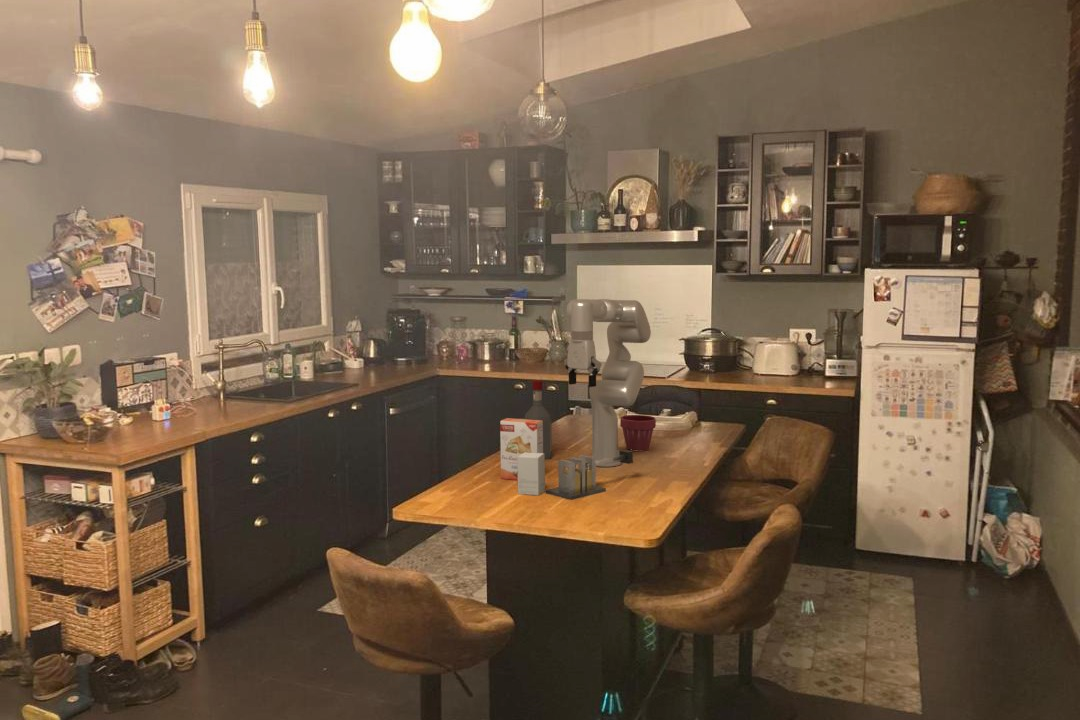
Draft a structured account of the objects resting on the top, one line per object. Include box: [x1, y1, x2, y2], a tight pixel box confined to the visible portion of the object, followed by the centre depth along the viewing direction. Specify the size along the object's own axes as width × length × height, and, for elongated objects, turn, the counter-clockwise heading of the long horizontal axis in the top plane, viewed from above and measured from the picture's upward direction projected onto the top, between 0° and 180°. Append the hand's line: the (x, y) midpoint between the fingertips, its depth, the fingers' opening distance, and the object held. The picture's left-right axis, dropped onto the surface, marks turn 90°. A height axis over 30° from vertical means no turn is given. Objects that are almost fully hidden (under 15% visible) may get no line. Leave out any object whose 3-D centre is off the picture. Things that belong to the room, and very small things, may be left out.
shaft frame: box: [544, 454, 607, 501], centre depth 292 cm, size 16×12×11 cm
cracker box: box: [499, 417, 543, 481], centre depth 310 cm, size 14×6×21 cm, turn 68°
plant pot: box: [619, 414, 657, 451], centre depth 360 cm, size 14×14×13 cm
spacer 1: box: [565, 469, 580, 492], centre depth 291 cm, size 2×6×6 cm, turn 43°
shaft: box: [585, 449, 634, 469], centre depth 302 cm, size 20×4×4 cm, turn 133°
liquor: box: [523, 379, 553, 460], centre depth 343 cm, size 9×9×30 cm
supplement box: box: [517, 452, 546, 496], centre depth 292 cm, size 7×7×13 cm
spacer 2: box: [576, 467, 592, 489], centre depth 295 cm, size 2×6×6 cm, turn 43°
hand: (582, 385), depth 311 cm, fingers open, 9 cm apart
